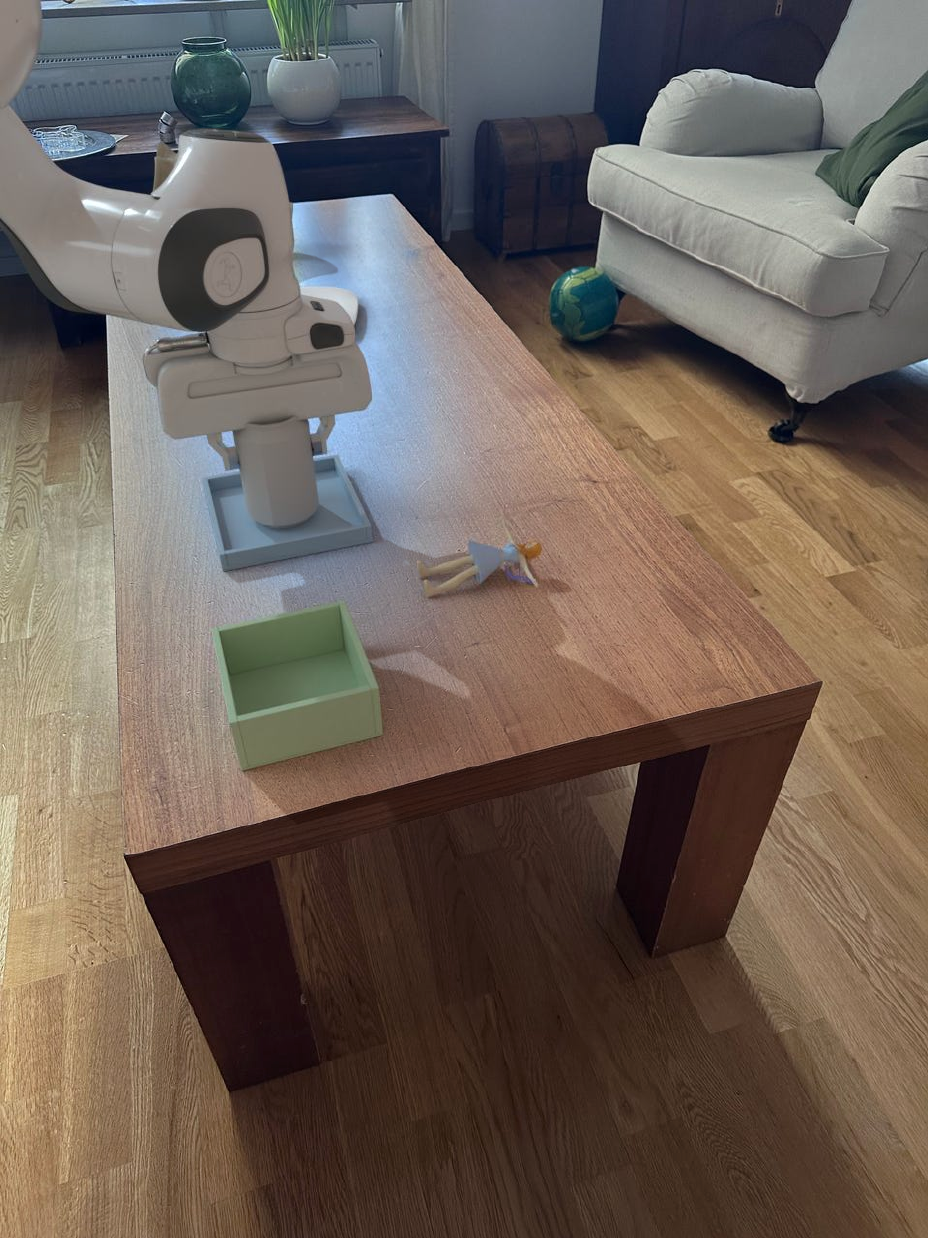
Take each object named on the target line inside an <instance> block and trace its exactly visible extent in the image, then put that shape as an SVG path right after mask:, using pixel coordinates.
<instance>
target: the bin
mask: <svg viewBox="0 0 928 1238" xmlns="http://www.w3.org/2000/svg"><path fill="white" fill-rule="evenodd" d="M348 607H349V606H348V605H347V602H346V600H344V599H343V600H339V601H334V602H329V603H325V604H320V605H315V606H310V607H306V608H302V609H297V610H291V611H286V612H282V613H278V614H273V615H268V616H263V617H259V618H254V619H250V620H245V621H240V622H236V623H231V624H225V625H222V626H221V625H220V626H216V627H212V628H210V630H211V636H212V641H213V646H214V651H215V658H216V662H217V666H218V672H219V677H220V682H221V687H222V692H223V697H224V702H225V708H226V713H227V718H228V723H229V727H230V731H231V735H232V739H233V743H234V747H235V750H236V755H237V759H238V763H239V767H240V770H241V772H243V771H247V770H251V769H255V768H259V767H262V766H263V767H264V766H267V765H271V764H274V763H279V762H282V761H283V762H284V761H286V760H290V759H295V758H298V757H299V758H300V757H302V756H306V755H310V754H313V753H318V752H322V751H326V750H329V749H335V748H337V747H342V746H346V745H349V744H353V743H357V742H361V741H365V740H369V739H373V738H377V737H381V736H383V735H384V730H383V719H382V708H381V707H382V706H381V695H380V687H379V684H378V681H377V679H376V677H375V674H374V671H373V669H372V667H371V663H370V661H369V659H368V656H367V653H366V651H365V648H364V646H363V643H362V641H361V638H360V636H359V633H358V630H357V628H356V626H355V623H354V620H353V617H352V615H351V612H350V610H349V608H348Z"/></svg>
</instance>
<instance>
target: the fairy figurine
mask: <svg viewBox="0 0 928 1238" xmlns="http://www.w3.org/2000/svg"><path fill="white" fill-rule="evenodd" d="M501 522H502V526H503V529H504V532H505V535H506V537H507V541H508V542H507V543H506V545H505V547H501V548H498V547H496V546H492V545H488V544H484V543H480V542H476V541H472V540H468V543H467V544H468V545H467V546H468V552H469V555H466V556H461V557H460V558H459V559H454V560H449V561H445V562H443V563H440V564H438V565H436V566H433V567H425V566H424V565H423V563H422V561H421V560H416V565H417V566H416V568H417V572H418V577H419V579H420V580H422V579H424V578H428V577H429V576H434V575H439V574H445V573H452V572H455V571H458V570H460V569H461V568H462V567H464V566H466V565H468V566H469V565H471V567H470V568H468V569H465V570H464V571H462V572H460V573H458V574H456V575H455V576H453V577H452V578H450V579H449V580H447V581H444V583H442V584H440V585H438V586H432V585H431V583H430V581H429V579H424V580H423V586H424V591H425V595H426V598H431V597H433V596H435V595H438V594H440V593H443V592H446V591H451V590H453V589H455V588H457V587H459V586H460V585H461V584H462V583H463V582H465V581H467V579H468V578H470V577H473V576H475V577H476V580H477V582H478V583H479V584H480V585H481V584H483V583H484V581H486V580H487V579H488V578H489V576H491V575H492V573H494V572H495V571H496V570H497V569H498V568H499V567H500V566H501V565H502V564H503V563H504V562H506V563H505V567H504V569H505V573H506V575H507V577H508V578H510V579H511V580H515V581H517V580H520V581H522V582H526V583H529V584H530V585H533V586H534V587H536V588H538V587H539V584H538V582H537V579H536V578H535V577H534V575H533V573H532V572H531V569H530V567H529V565H528V562H531V561H532V560H534V559H537V558H538V557H539V556H541V555H542V551H543V547H542V543H541V542H540V541H538V540H537V539H534V540H531V541H528V542H525V543H521V544H520V543H516V542H515V541H514V538H513V537H512V534H511V533H510V531H509V530H508V527H507V524H506V521H505V518H504V517H503V516H501ZM509 563H513V565H516V564H517V567H516V568H515V566H512V567H513V568H512V571H510V567H509ZM514 569H515V570H518V574H516V575H515V573H513V572H514ZM521 569H522V571H523V574H522V575H521ZM512 573H513V574H512ZM524 573H525V575H526V576H525V575H524Z"/></svg>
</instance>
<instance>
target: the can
mask: <svg viewBox="0 0 928 1238" xmlns="http://www.w3.org/2000/svg"><path fill="white" fill-rule="evenodd" d="M297 417H298V416H293V417H291V418H290V419H288V420H286V421H283V422H278V423H271V424H265V425H259V424H252V423H246V424H245V425H246V426H247V428H246V429H241V430H234V431H231V432H232V436H233V443H234V446H235V449H236V451H237V454H238V458H239V464H240V469H239V471H240V476H241V481H242V486H243V492H244V497H245V502H246V508H247V512H248V514H249V516H250V517H251V518H252V519H253V520H254V521H256V522H259V523H261V524H262V525H264V526H266V527H269V528H275V529H284V528H290V527H295V526H297V525H300V524H302V523H304V522H305V521H307V520H308V519H309V518H310V516H312V515H313V514H314V513H315V512H316V510H317V509H318V504H319V500H318V492H317V484H316V476H315V467H314V459H315V458H314V456H313V452H312V443H311V435H310V434H311V428H310V421H309V419H305V420H297V419H296V418H297Z"/></svg>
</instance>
